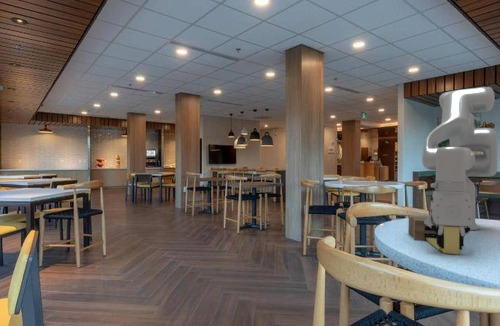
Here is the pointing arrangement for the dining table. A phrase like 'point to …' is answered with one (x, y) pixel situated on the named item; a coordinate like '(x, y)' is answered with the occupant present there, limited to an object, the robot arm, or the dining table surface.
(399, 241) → the dining table surface
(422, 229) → the dispenser
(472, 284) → the dining table surface
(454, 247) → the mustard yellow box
